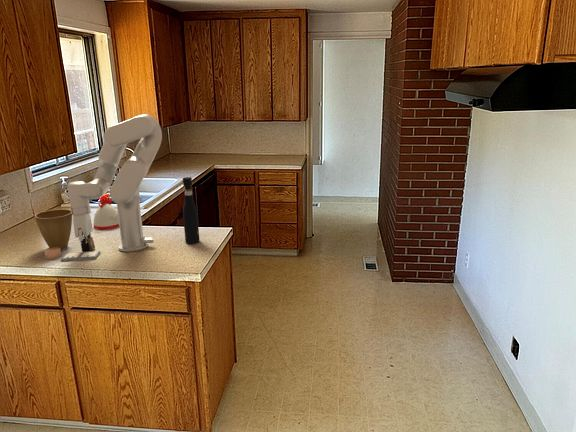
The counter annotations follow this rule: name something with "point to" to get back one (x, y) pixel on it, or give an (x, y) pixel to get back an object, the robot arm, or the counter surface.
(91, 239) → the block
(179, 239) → the counter surface
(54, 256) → the tan round lump
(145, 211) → the counter surface
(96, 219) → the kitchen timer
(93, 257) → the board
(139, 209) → the robot arm
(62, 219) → the plant pot
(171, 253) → the counter surface
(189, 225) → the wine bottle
